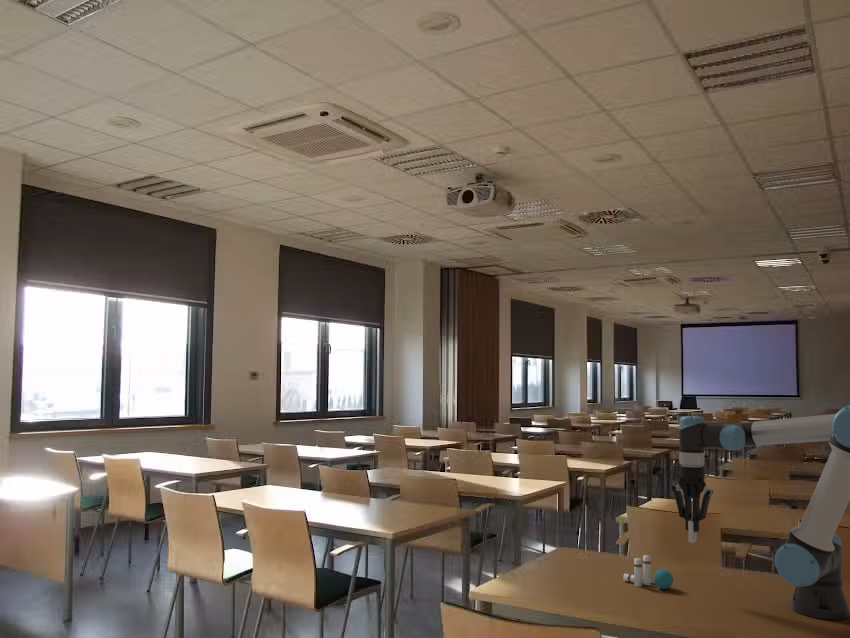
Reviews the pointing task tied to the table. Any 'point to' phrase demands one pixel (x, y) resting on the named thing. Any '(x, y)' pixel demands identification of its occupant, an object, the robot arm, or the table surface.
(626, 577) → the front pin
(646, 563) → the pin
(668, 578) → the ball
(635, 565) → the pin
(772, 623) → the table surface
